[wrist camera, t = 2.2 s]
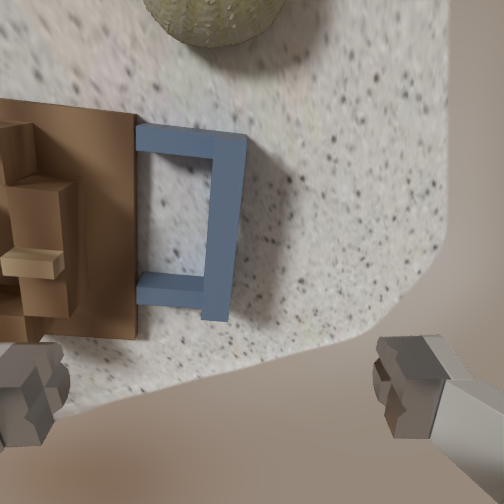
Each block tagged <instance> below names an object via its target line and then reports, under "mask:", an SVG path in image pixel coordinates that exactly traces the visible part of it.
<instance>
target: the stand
mask: <svg viewBox="0 0 504 504" xmlns="http://www.w3.org/2000/svg"><path fill="white" fill-rule="evenodd" d="M136 126H137V114H132V113H123V112H115V111H106V110H98V109H89V108H81V107H72V106H64V105H55V104H47V103H38V102H30V101H21V100H13V99H4V98H0V342H15V343H17V342H39V341H40V340H41V339H42V337H43V336H44V335H45V334H50V335H65V336H79V337H94V338H109V339H124V340H135V339H136V336H137V334H138V304H137V150H136Z"/></svg>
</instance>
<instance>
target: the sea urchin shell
mask: <svg viewBox="0 0 504 504" xmlns="http://www.w3.org/2000/svg"><path fill="white" fill-rule="evenodd" d="M143 2H144V4H145V5H146V9H147V10H148V11H149V12H150V13H151V15H152V16H153V17H154V19H155V21H157V22H158V23H159V24H160V25H161V27H162V28H163V29H164V30H165V31H166V33H167V34H169V35H171V36H172V37H173V38H175V39H176V40H178V41H180V42H181V43H186V44H190V45H196V46H201V47H207V48H208V49H209V48H211V47H213V48H216V47H217V46H225V45H226V46H228V45H232V46H233V45H234V44H236V45H239V43H241V42H244V41H246V40H248V39H250V38H252V37H254V36H257V35H259V34H261V33H263V32H264V31H265V30H266V29H267V28H268V27H269V26H270V25H271V24H272V23H273V22H274V20H275V19H276V18H277V16H278V13H279V11H280V10H281V7H282V6H283V4H284V2H285V0H143Z"/></svg>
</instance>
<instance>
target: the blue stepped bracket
mask: <svg viewBox="0 0 504 504" xmlns="http://www.w3.org/2000/svg"><path fill="white" fill-rule="evenodd" d="M136 150H137V151H146V152H155V153H164V154H173V155H183V156H192V157H201V158H210V159H213V164H212V178H211V191H210V205H209V218H208V232H207V245H206V259H205V272H204V277H200V276H188V275H176V274H164V273H152V272H143V274H142V277H141V279H140V281H139V283H138V285H137V304H142V305H155V306H169V307H182V308H195V309H202V312H201V320H209V321H222V322H228V317H229V308H230V299H231V290H232V280H233V271H234V262H235V252H236V243H237V234H238V225H239V215H240V206H241V197H242V188H243V178H244V169H245V160H246V150H247V138H246V134H238V133H230V132H221V131H212V130H204V129H195V128H186V127H178V126H169V125H160V124H152V123H142V124H140V125H137V126H136Z"/></svg>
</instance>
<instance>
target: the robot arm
mask: <svg viewBox="0 0 504 504" xmlns="http://www.w3.org/2000/svg"><path fill="white" fill-rule="evenodd" d="M376 351H377V353H378V355H379V357H380V358H379V359H378V360H377V361H376V362H375V363H374V366H373V385H374V390H375V393H376V396H377V398H378V401H379V402H381V403H382V404H383V405H384V406H386V408H385V414H384V416H385V418H386V421H387V423H388V426H389V428H390V430H391V433H392V435H393V438H408V439H409V438H410V439H412V438H413V439H418V438H419V439H430V441H431V442H432V443H433V444H434V445H435V446H436V447H437V448H438V449H440V450H441V451H442V452H443V453H444V454H445V455H446V456H447V457H448V458H449V459H450V460H451V461H453V462H454V463H455V464H456V465H457V466H458V467H459V468H460V469H461V470H462V471H463V472H464V473H466V474H467V475H468V476H469V477H470V478H471V479H472V480H473V481H474V482H475V483H476V484H478V485H479V486H480V487H481V488H482V489H483V490H484V491H485V492H486V493H487V494H488V495H490V496H491V497H492V498H493V499H494V500H495V501H496V502H497V503H498V504H504V392H503V391H502V390H500V389H498V388H497V387H495V386H493V385H491V384H489V383H487V382H486V381H484V380H482V379H475V378H474V377H473V375H472V374H471V373H470V372H469V370H468V369H467V368H466V366H464V364H463V362H462V361H461V360H460V358H459V357H458V356H457V354H456V353H455V352H454V351H453V349H452V348H451V347H450V345H449V344H448V343H447V341H446V340H445V339H444V338H443V337H442V336H441V335H439V334H437V335H419V336H392V337H379V339H378V341H377V346H376ZM63 356H64V353H63V350H62V347H61V345H60V344H58V343H56V342H17V343H15V342H0V452H2V451H3V450H4V447H20V446H21V447H22V446H41V445H42V443H43V441H44V440H45V438H46V436H47V434H48V432H49V431H50V429H51V427H52V425H53V423H54V419H53V416H52V414H54V413H55V412H56V411H58V410H59V409H60V408H62V407H63V405H64V403H65V401H66V399H67V398H68V393H69V389H70V375H69V371H68V369H67V368H66V367H65V366H64V365H63V364H62V363H60V361H61V360H62V358H63Z"/></svg>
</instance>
